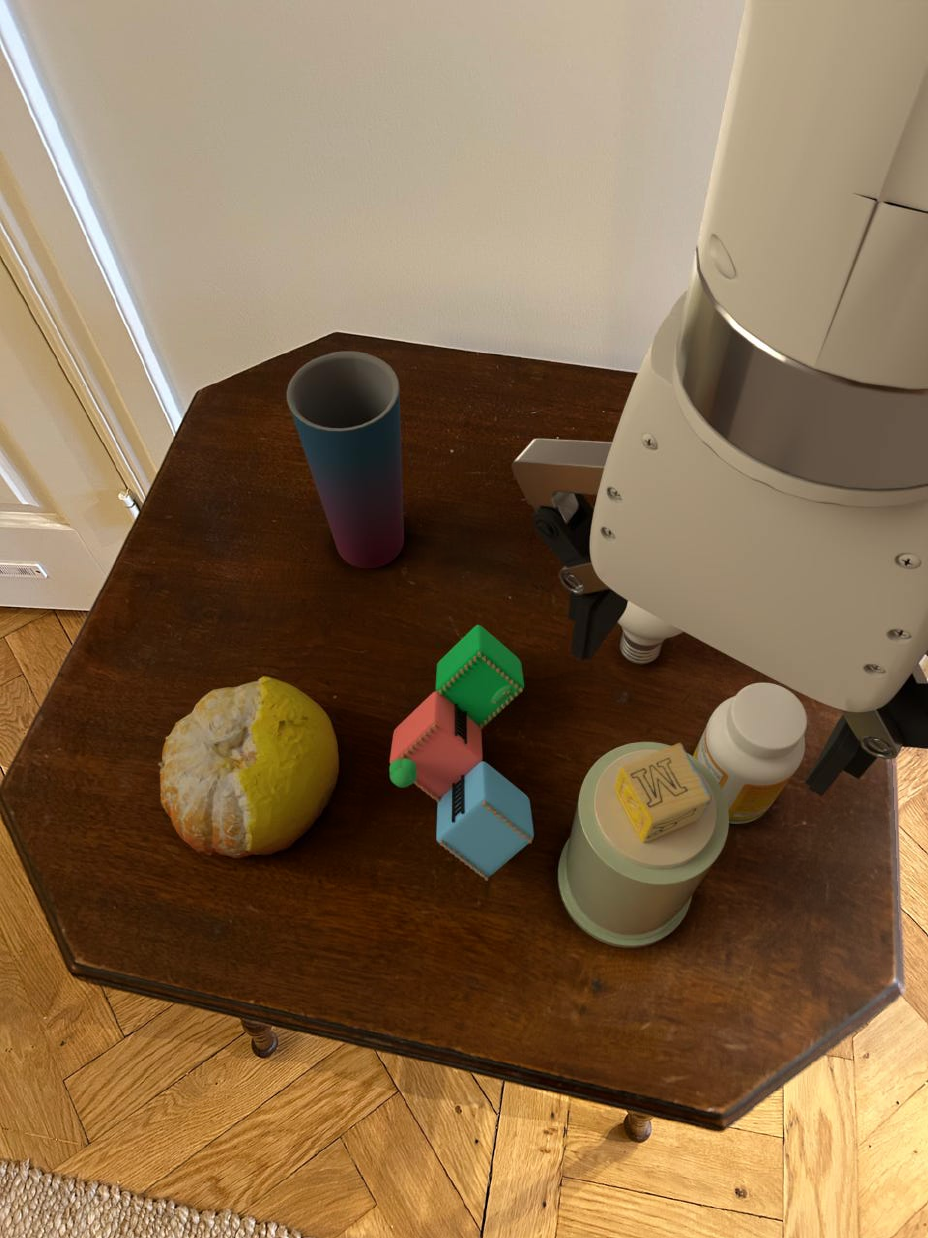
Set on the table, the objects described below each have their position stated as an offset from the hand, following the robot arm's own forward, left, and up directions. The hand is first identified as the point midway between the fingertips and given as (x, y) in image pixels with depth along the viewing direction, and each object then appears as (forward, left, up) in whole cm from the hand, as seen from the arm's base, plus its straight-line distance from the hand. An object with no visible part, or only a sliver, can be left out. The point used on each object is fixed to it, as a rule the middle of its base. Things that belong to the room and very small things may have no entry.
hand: (708, 693), depth 34 cm
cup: (+28, -10, -23) cm, 38 cm away
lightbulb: (+7, -13, -23) cm, 27 cm away
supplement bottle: (-2, -8, -23) cm, 24 cm away
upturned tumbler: (0, +1, -23) cm, 23 cm away
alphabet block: (0, +1, -11) cm, 11 cm away
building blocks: (+11, 0, -23) cm, 25 cm away
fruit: (+22, +9, -23) cm, 33 cm away
